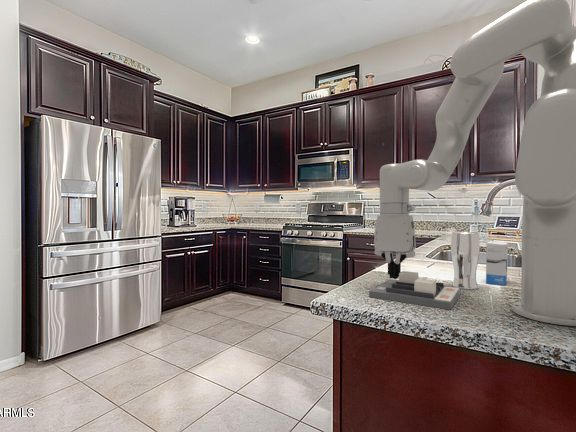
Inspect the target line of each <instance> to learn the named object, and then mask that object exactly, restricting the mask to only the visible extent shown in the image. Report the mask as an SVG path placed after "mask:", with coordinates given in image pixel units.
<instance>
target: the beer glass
mask: <svg viewBox="0 0 576 432" xmlns="http://www.w3.org/2000/svg"><path fill="white" fill-rule="evenodd" d="M450 241H451V242H450V252H451V253H450V254H451V261H452V266H453V272H454V273H453V281H452V287H457V288H461V289H463V290H476V289H478V282H477V269H478V265H479V259H480V253H481V252H480V251H481V249H480V248H481V247H480V246H481V245H480V233H479V232H471V231H453V232H451V240H450Z"/></svg>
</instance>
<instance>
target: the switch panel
mask: <svg viewBox="0 0 576 432" xmlns="http://www.w3.org/2000/svg"><path fill="white" fill-rule="evenodd" d="M461 291H462V290H461V288H457V287H454V286H449V285H448V286H446V285H445V283H443V282H437V281H436V294H435V295H434V294H432V293H424V292H417V291H414V283H406V282H399V279H398V280H397V279H392V278H389V279H388V280H386V281H384V282H383V283H380V284H379V285H378V286H376V287H373V288H372V289H371V290H369V291H368V297H369V298H371V299H373V298H374V299H379V300H380V299H381V300H385V301H392V302H397V303H398V302H399V303H405V304H412V305H417V306H424V307H429V308H437V309H443V310H449V311H451V310H452V308H453V307H454V305H455V303H456V302H457V301H458V299H459V297H460V296H461V293H462V292H461Z"/></svg>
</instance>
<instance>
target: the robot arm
mask: <svg viewBox="0 0 576 432" xmlns="http://www.w3.org/2000/svg"><path fill="white" fill-rule="evenodd" d="M519 54H521V55H522V57H524V58H525V59H526V60H528V61H530V62H532V63H535V64H537V65H540V66H541V67H542V68H543V70H544V74H543V78H542V80H541V81H542V82H541V89H540V91H541V92H540V96H539V97H538V98H537V99H536V100H534V102H533V103H532V105H531V106H530V107H529V108H528V110H527V113H526V115H525V118H524V120H523V126H522V130H521V131H522V132H521V137H520V138H521V139H520V144H519V150H518V154H517V155H518V156H517V159H516V160H517V161H516V168H515V174H514V181H515V182H514V183H515V186H516V189H517V191H518V193H519V194H520V196H522V198H523V204H522V216H521V217H522V220H521V222H522V223H521V225H522V226H521V282H520V283H521V284H520V285H521V290H520V291H521V293H520V295H521V296H520V297H521V298H520V301H515V302H514V303H512V305H511V310H512V311H513V312H514V313H515V314H516V315H518V316H521V317H524V318H525V319H526V318H527V319H528V320H529V319H530V320H533V321H537V322H541V323H547V324H553V325H559V326H566V327H567V326H568V327H576V26H575V25H574V24H573V21H572V14H571V8H570V5H569V3H568V1H567V0H526V1H524V2H523V3H521V4H519V5H517V6H516V7H515V8H513V9H511V10H509V11H508V12H507V13H505V14H503V15H501V16H500V17H498V18H497V19H496V20H494V21H492V22H491V23H488V24H487V25H486V26H484V27H483V28H481V29H480V30H478V31H477V32H475V33H474V34H472V35H470V37H468V38H467V39H465V40H464V41H463V42H462V43H461V44H460V45H459V46H458V47H457V48H456V50H454V52H453V54H452V56H451V58H450V62H449V63H450V64H449V67H450V70H451V73H452V74H453V76H454V77H455V78H454V80H453V83H452V85H451V86H450V87H449V90H448V92H447V93H446V95H445V97H444V99H443V100H442V103H441V105H440V107H439V108H438V110H437V111H436V113H435V129H436V139H435V143H434V146H433V148H432V151H431V153H430V155H429V157H428V158H427V160H426V159H419V158H418V159H412V160H409V161H405V162H401V163H388V164H384V165H382V166H381V167H380V169H379V214H378V215H377V217H376V221H375V228H374V237H373V238H374V239H373V246H374V252H373V253H374V255H376V256H379V257H382V258H383V259H384V260H385V262H386V264H387V275H389V276H388V277H389V279H393V280H397V279H399V273H400V272H402V271H401V270H402V269H401V264H402V262H403V261H405V260H406V259H411V258H414V257H415V256H416V252H415V250H416V233H415V231H416V230H415V222H414V217H413V215H410V213H411V212H414V211H415V210H416V209H415V208H416V206H415V205H412V204H411V203H410V190H416V191H418V190H419V191H428V192H430V191H431V192H433V191H437V190H439V189H441V188H442V187H443V186H444V185H445V184H446V183H447V181H448V180H449V178H450V177H451V176H452V173H454V171H455V168H456V167H457V166H458V164H459V162H460V160H461V158H462V156H463V153H464V150H465V147H466V146H467V142H468V140H469V138H470V137H469V136H470V133H471V129H472V128H473V126H474V124H475V122H476V121H477V118H478V117H479V115H480V114H481V112H482V110H483V108H484V107H485V105H486V104H487V101H488V100H489V98H490V97H491V95H492V93H493V92H494V90H495V88H496V87H497V85H498V83H499V81H500V79H501V78H502V77H503V73H504V70H505V62H506V61H508V60H510V59H512V58H514V57H516V56H517V55H519ZM393 253H395V259H394V254H393Z"/></svg>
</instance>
